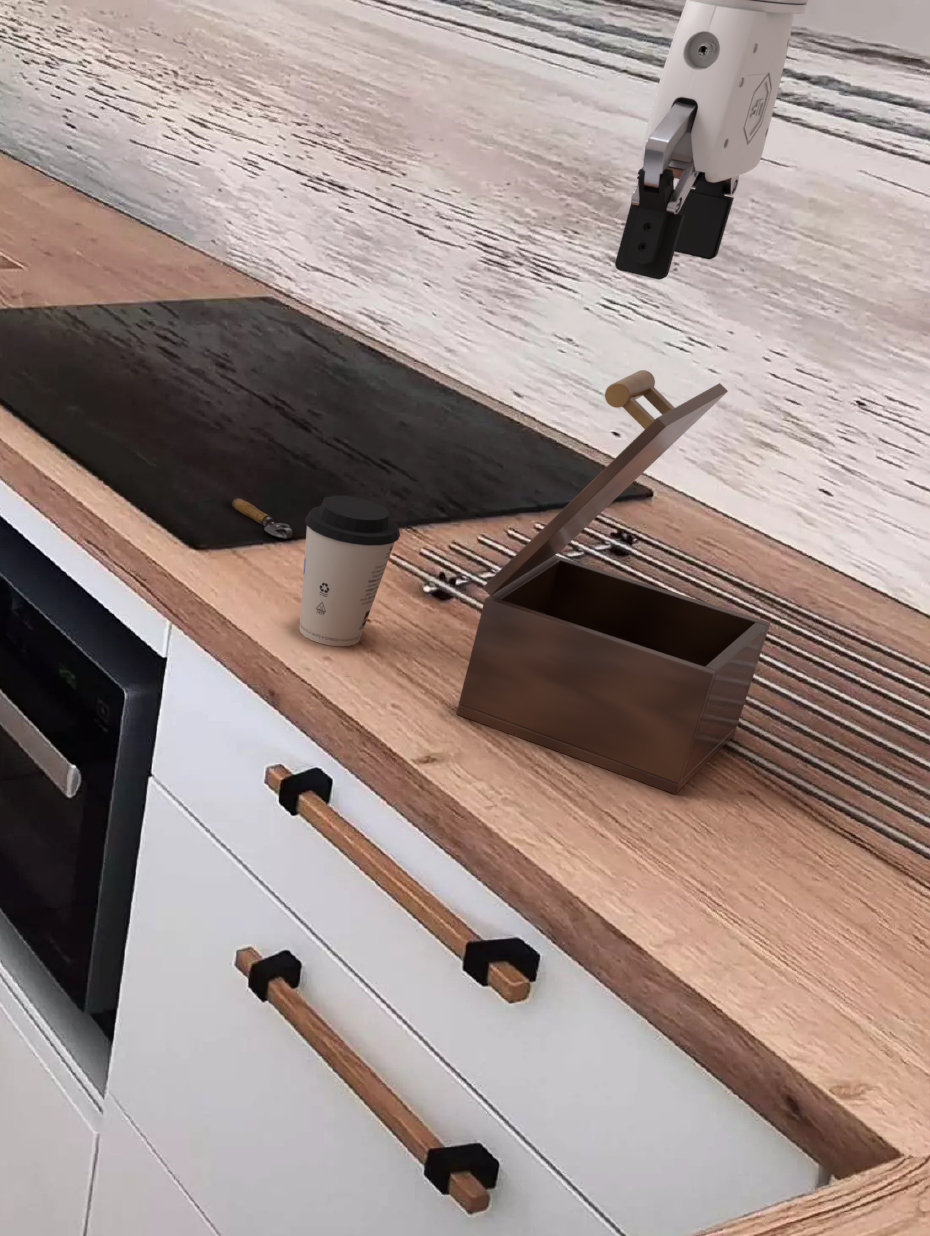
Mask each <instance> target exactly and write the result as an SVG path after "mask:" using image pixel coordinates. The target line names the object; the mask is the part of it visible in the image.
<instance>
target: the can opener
mask: <svg viewBox="0 0 930 1236" xmlns="http://www.w3.org/2000/svg"><path fill="white" fill-rule="evenodd" d="M231 506H232V508H234V509H235V510H236V511H238V512H240V513H241V514H243V515H244V516H246V517H247V518H250V519H251V520H253V521H255V522H256V523H258V524H259V525H261V526H262V527H264V531H265V532H266V533H267V534H269V535H271V536H273V537H277V538H282V539H285V540H287V539H291V538H293V529H292V528H291V526H290V525H289V524H288V523H284V522H275V520H274V518H273V517H272V516H271V515H269V514H267V513H265V512H263V511H262V510H260V509H258V507H256V506H255V505H254V504H252V503H251V502H249V501H247V500H245V499H243V498H240V497H236V498H234V499H233V500H232V502H231Z"/></svg>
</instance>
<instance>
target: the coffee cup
mask: <svg viewBox="0 0 930 1236" xmlns="http://www.w3.org/2000/svg"><path fill="white" fill-rule="evenodd" d="M304 522H305V526H306V535H305V545H304V546H305V547H304V560H303V561H304V562H303V573H302V575H303V576H302V585H301V600H300V613H299V623H298V624H299V626H298V628H299V633H300V634H301V635H303V637H305V638H306V639H308V640H310V641H313V642H316V643H319V644H321V645H326V646H331V647H332V646H333V647H349V646H354V645H357V644H359V642H360V640H361V638H362V635H363V633H364V629H365V626H366V624H367V621H368V618H369V615H370V612H371V609H372V607H373V604H374V602H375V598H376V595H377V593H378V590H379V588H380V584H381V582H382V579H383V576H384V573H385V571H386V568H387V565H388V562H389V559H390V557H391V554H392V551H393V548H394V545H395V543H396V542H397V541H399V539H400V537H401V533H400V529H399V525H398V523H397V522H396V520H394V519H392V518H391V517H390V512H389V510H388V509H387V508H386V507H385V506H383V505H381V504H379V503H376V502H374V501H370V500H368V499H364V498H360V497H356V496H352V495H329V496H325V497H324V498H323V500H322V503H321V505H317V506H315V507H313V508H311V509H310V511H308V514H307V515H306V517H305V519H304Z"/></svg>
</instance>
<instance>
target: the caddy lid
mask: <svg viewBox="0 0 930 1236" xmlns="http://www.w3.org/2000/svg"><path fill="white" fill-rule="evenodd" d="M655 386H656V379H655V377H654V375H653V374H652V373H651V372H650V371H648V370H645V369H642V370H638V371H635V372H634V373H631V374H630V375H627V376H626V377H623V378H621V379H619V380H617V381H615V382H612V383H611V384H609V386H607V388H606V389H605V391H604V398H605V399H604V400H605V401H606V404H608V405H609V406H611V407H613V408H615V409H617V408H618V409H619V408H622V409H624V411H626V412H627V413H628V414H629V415H630V416H631V417H632V418H633V419H634V420H635V421H636V422H637V424H639V425H640V427H642V428H643V429H644V430H642V432H640V434H639V435H637V436H636V437H635V438H634V439H633V440H632V441H631V442H630V443H629V444H628V445H627V446H626V447H625V448H624V449H623V450H622V451H621V452H620V453H619V454H618V455H617V456H616V457H615V458H614V459H613V460H612V461H611V462H610V463H609V464H608V465H607V466H606V467H605V468H603V469H602V470H601V472H600V473H598V474H597V475H596V476H595V477H594V478H593V480H591V481H590V482H589V483H588V484H587V485H586V486H585V487H584V488H583V489H582V490H581V491H580V492H579V493H578V494H577V495H576V496H575V497H574V498H573V499H572V500H570V502H569V503H567V504H566V505H565V506H564V507H563V508H562V509H561V510H560V511H559V512H558V513H557V514H556V515H555V516H554V517H553V518H552V519H551V520H550V521H549V522H548V523H547V524H546V525H545V526H544V527H543V528H542V529H541V530H540V531H539V532H538V533H537V534H535V536H534V537H532V539H530V541H528V543H527V544H525V545H524V546H523V547H522V548H521V549H520V550H519V551H518V552H517V553H516V554H515V555H514V556H513V557H512V558H511V559H510V560H509V561H508V562H507V563H505V565H504V566H503V567H502V568H501V569H500V570H499V571H498V572H497V573H496V574H494V575H493V576H492V578H490V579H489V580H488V582H486V583H485V584H484V585H483V586H482V589H483V590H484V591H485V592H486V593H487V595H488V596H491V595H493V594H494V593H496V592H498V591H499V590H501V589H502V588H504V587H506V586H507V585H509V584H510V583H512V582H513V581H515V580H517V579H518V578H520V577H521V576H523V575H524V574H526V573H528V572H529V571H531V570H532V569H534V568H535V567H537V566H539V565H540V564H542V563H543V562H545V561H547V560H548V559H550V558H551V557H553V556H554V555H556V556H557V555H558V554H559V553H561V552H562V551H563V550H564V549H565V548H566V547H567V546H568V545H569V544H570V543H571V542H572V541H573V540H574V539H575V538H576V537H577V536H579V534H580V533H582V531H583V530H585V528H587V527H588V526H589V525H590V524H591V523H592V522H593V521H594V520H596V518H597V517H599V515H600V514H601V513H602V512H603V511H605V510H606V509H607V508H608V507H609V506H610V505H611V504H612V503H613V502H614V501H615V500H616V499H617V498H618V497H620V495H621V494H623V492H624V491H626V490H627V489H628V487H630V486H631V485H632V484H634V482H635V481H636V480H637V479H638V478H639V477H640V476H642V474H643V473H644V472H645V471H647V469H649V468H650V467H651V466H652V465H653V464H655V462H656V461H657V460H658V459H659V458H660V457H661V456H662V455H663V454H664V453H665V452H666V451H668V449H670V447H671V446H673V445H674V444H675V443H676V442H677V441H678V440H679V439H681V437H682V436H683V435H684V434H685V433H686V432H687V431H688V430H689V429H691V428H692V427H693V426H694V425H695V424H696V423H697V422H698V421H699V420H700V419H701V418H702V417H703V416H705V414H706V413H708V411H709V410H710V409H711V408H712V407H714V406H715V404H717V403H718V402H719V401H720V400H721V398H723V397H724V396H725V395H726V394H727V393H728V392H729V390H728V389H727V388H726V387H725V386H724V385H723V384H721V382H719V383H717V384H715V385H713V386H712V387H710V388H708V389H706V390H705V391H702V392H701V393H699V394H697V395H695V396H694V397H692V398H690V399H688V400H687V401H684V402H683V403H681V404H679V405H678V406H674V405H673V404H672V403H671V402H670V401H669V400H668V399H667V398H666V397H665V396H664V395H663V394H662V393H661V392H660V391H659V390H658V389H657V388H656V387H655ZM641 397H644V399H646V400H647V402H649V403H650V404H651V405H652V406H653V408H655V409H656V410H657V411H658V413H660V414H661V415H659V416H657V417H656V418H654V417H653V416H652V414H650V412H648V410H647V409H646V408H644V406H643V405H641V404H640V403H639V402H638V399H639V398H641Z"/></svg>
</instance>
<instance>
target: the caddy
mask: <svg viewBox="0 0 930 1236" xmlns="http://www.w3.org/2000/svg"><path fill="white" fill-rule="evenodd" d="M483 600H484V601H483V604H482V609H481V613H480V617H479V621H478V625H477V627H476V632H475V637H474V642H473V645H472V649H471V653H470V656H469V660H468V665H467V668H466V673H465V676H464V679H463V680H464V681H463V685H462V688H461V693H460V697H459V700H458V705H457V708H456V715H457V716H460V717H462V718H465V719H468V720H470V721H473V722H476V723H480V724H482V725H484V726H487V727H490V728H492V729H496V730H498V731H501V732H503V733H507V734H509V735H511V736H514V737H517V738H520V739H523V740H526V741H528V742H530V743H534V744H536V745H538V746H542V747H545V748H547V749H550V750H553V751H556V752H559V753H560V754H564V755H566V756H569V757H571V758H575V759H577V760H580V761H583V762H586V763H589V764H591V765H594V766H597V767H598V768H602V769H605V770H608V771H609V772H613V773H617V774H619V775H621V776H624V777H627V778H629V779H632V780H635V781H637V782H640V783H643V784H645V785H648V786H650V787H655V788H657V789H659V790H662V791H665V792H667V793H670V794H673V795H676V794H677V793H679V791H680V790H681V789H682V788H683V787H684V786H685V785H687V783H688V782H690V780H691V779H692V778H694V776H695V775H696V774H697V773H698V772H699V771H701V769H703V768H704V766H706V765H707V764H708V763H709V761H710V760H711V759H713V758H714V757H715V756H716V755H717V754H718V753H719V752H720V751H721V750H722V749H723V748H724V747H725V746H726V745H727V744H728V743H729V742H730V741H731V740H732V739H733V738H734V736H735V734H736V732H737V727H738V726H739V723H740V722H739V721H740V719H741V716H742V713H743V709H744V706H745V703H746V702H747V701H746V700H747V698H748V694H749V691H750V688H751V684H752V682H753V679H754V675H755V673H756V669H757V666H758V663H759V660H760V657H761V654H762V651H763V647H764V644H765V642H766V638H767V635H768V632H769V629H770V626H771V622H770V621H767V620H763V619H761V618H758V617H754V616H751V615H748V614H745V613H741V612H738V611H735V610H732V609H729V608H726V607H723V606H720V605H716V604H712V603H709V602H706V601H703V600H700V599H696V598H693V597H690V596H687V595H684V594H681V593H677V592H675V591H672V590H668V589H664V588H661V587H658V586H656V585H652V584H650V583H649V584H648V583H645V582H642V581H639V580H636V579H633V578H630V577H626V576H623V575H620V574H617V573H614V572H610V571H608V570H604V569H601V568H597V567H594V566H591V565H589V564H585V563H581V562H578V561H576V560H573V559H569V558H566V557H564V556H559V555H557V554H556V555H554V556H553V557H551V558H550V559H548V560H547V561H545V562H543V563H542V564H540V565H539V566H537V567H535V568H534V569H532V570H531V571H529V572H528V573H526V574H524V575H523V576H521V577H520V578H518V579H517V580H515V581H513V582H512V583H510V584H509V585H507V586H506V587H504V588H502V589H501V590H499V591H498V592H496V593H494V594H493V595H491V596H490V595H488V596H487V597H485V598H484V599H483Z"/></svg>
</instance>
